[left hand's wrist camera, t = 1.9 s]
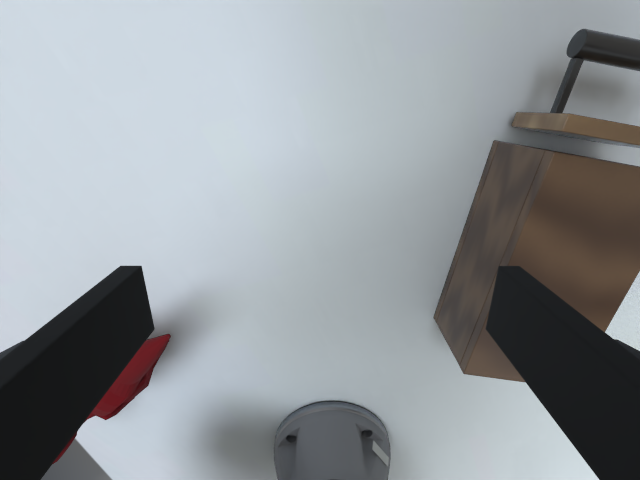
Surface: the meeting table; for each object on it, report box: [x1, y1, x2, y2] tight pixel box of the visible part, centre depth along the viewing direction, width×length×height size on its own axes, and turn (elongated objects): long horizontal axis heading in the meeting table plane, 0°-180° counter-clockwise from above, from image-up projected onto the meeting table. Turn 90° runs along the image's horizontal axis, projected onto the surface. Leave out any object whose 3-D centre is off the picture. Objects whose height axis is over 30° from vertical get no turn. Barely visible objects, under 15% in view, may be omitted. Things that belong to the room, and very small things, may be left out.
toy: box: [53, 334, 171, 464], centre depth 32 cm, size 7×25×15 cm
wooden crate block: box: [434, 141, 640, 382], centre depth 31 cm, size 20×10×9 cm, turn 171°
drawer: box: [512, 29, 640, 148], centre depth 29 cm, size 24×9×7 cm, turn 171°
